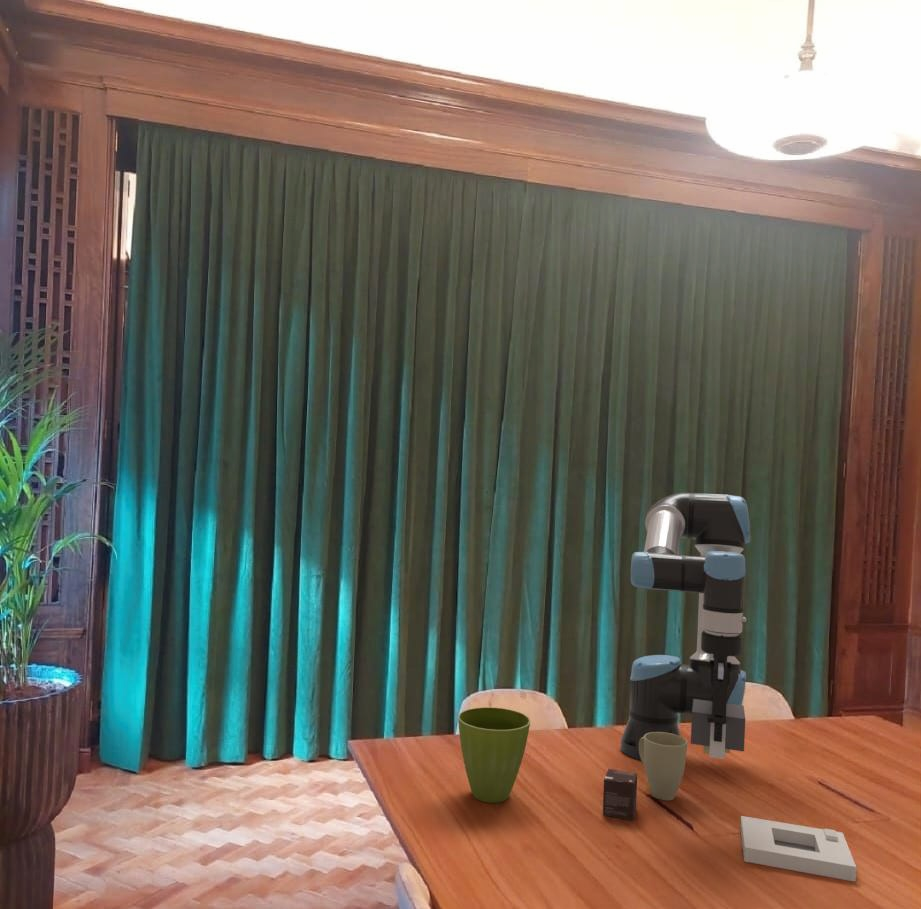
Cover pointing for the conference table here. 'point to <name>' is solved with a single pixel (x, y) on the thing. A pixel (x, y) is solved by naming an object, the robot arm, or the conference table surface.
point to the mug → (663, 762)
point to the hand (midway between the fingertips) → (716, 749)
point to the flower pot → (492, 750)
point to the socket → (797, 848)
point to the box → (620, 794)
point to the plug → (702, 727)
